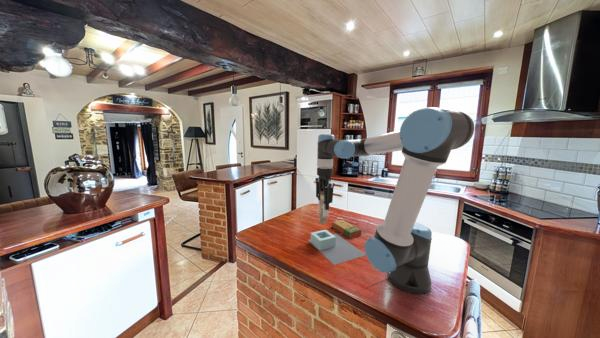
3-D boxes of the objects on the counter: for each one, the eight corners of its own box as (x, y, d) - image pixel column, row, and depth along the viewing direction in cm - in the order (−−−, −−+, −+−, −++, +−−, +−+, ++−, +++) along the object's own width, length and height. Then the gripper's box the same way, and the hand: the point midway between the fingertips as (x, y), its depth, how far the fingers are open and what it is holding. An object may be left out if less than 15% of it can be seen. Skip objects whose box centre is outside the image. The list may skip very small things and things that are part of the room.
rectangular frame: (335, 246, 109) (335, 236, 109) (319, 250, 105) (320, 240, 105) (325, 238, 117) (325, 229, 117) (310, 241, 113) (310, 232, 113)
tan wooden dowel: (328, 223, 109) (329, 191, 106) (321, 224, 107) (322, 192, 104) (324, 220, 112) (325, 189, 109) (317, 221, 111) (318, 190, 108)
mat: (366, 256, 102) (366, 254, 102) (334, 266, 94) (334, 265, 94) (335, 234, 123) (335, 233, 123) (307, 241, 116) (307, 240, 115)
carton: (342, 225, 136) (342, 219, 135) (361, 236, 122) (362, 229, 121) (331, 228, 131) (331, 221, 131) (350, 240, 118) (350, 232, 117)
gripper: (342, 169, 99) (339, 218, 103) (322, 164, 114) (320, 207, 118) (328, 170, 96) (326, 221, 100) (309, 165, 110) (308, 209, 115)
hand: (323, 213), depth 109 cm, fingers closed on tan wooden dowel, 3 cm apart
